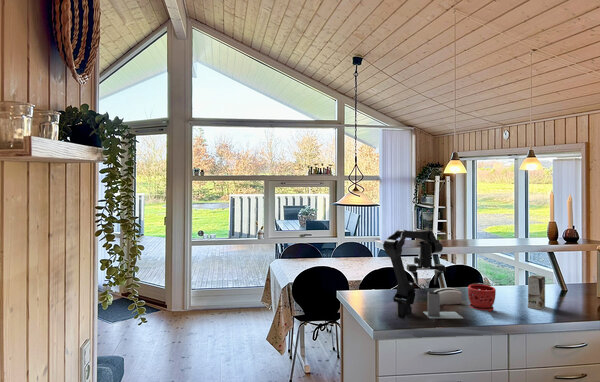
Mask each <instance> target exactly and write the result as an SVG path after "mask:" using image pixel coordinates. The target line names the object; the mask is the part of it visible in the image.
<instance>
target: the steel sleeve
mask: <svg viewBox="0 0 600 382" xmlns="http://www.w3.org/2000/svg"><path fill="white" fill-rule="evenodd" d="M440 306H441V304H440V294H439V292H434V291H427V312H428V316H434V317H440V312H441V311H440V310H441V309H440V308H441V307H440ZM428 316H427V317H428Z"/></svg>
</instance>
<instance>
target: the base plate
mask: <svg viewBox="0 0 600 382" xmlns="http://www.w3.org/2000/svg"><path fill="white" fill-rule="evenodd" d="M423 313H424V315H426V316H427V318H429V319H464V317H463V316H461V315H460V314H459V313H457V312H456V311H440V317H434V316H428V311H423Z"/></svg>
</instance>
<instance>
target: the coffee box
mask: <svg viewBox="0 0 600 382" xmlns="http://www.w3.org/2000/svg"><path fill="white" fill-rule="evenodd" d="M527 282H528V283H527V307H528V308H529V309H535V310H539V309H540V311H541V310H542V309H544V308H545V307H546V276H543V275H530V276H528V277H527ZM543 307H544V308H543Z"/></svg>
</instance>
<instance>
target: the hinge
mask: <svg viewBox="0 0 600 382" xmlns="http://www.w3.org/2000/svg"><path fill="white" fill-rule="evenodd" d="M433 292H439V294H440V305H444V304H445V305H458V304H460V305H461V304H462V296H463V293H462V292H461V291H460V290H459V289H458V288H453V287H442V288H437V289H434V291H433Z"/></svg>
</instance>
